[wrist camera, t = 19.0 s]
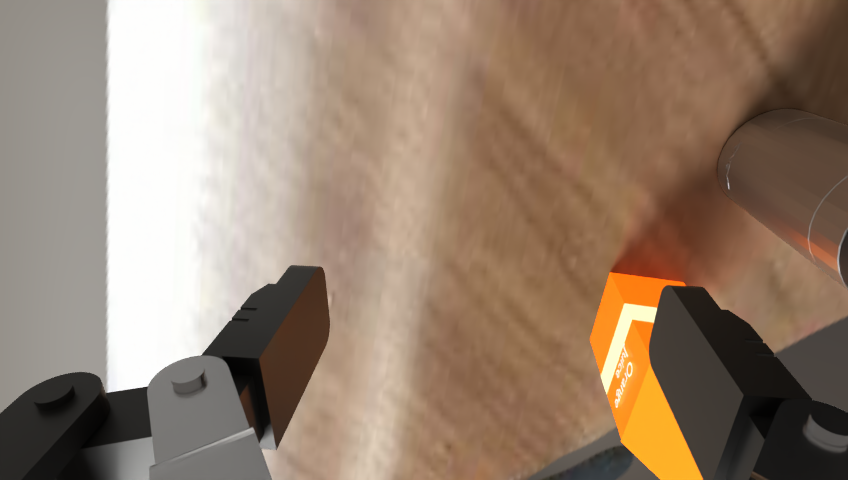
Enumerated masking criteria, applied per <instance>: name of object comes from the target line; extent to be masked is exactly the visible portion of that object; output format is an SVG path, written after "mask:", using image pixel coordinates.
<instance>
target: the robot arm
mask: <svg viewBox="0 0 848 480" xmlns="http://www.w3.org/2000/svg"><path fill="white" fill-rule="evenodd" d="M717 172H718V180H719V183H720V185H721V188H722V190H723V191H724V192H725V194H726V195H727V196H728V197H729V198H730V199H732V200H733V201H734V202H735V203H737V204H738V205H739V206H740V207H742V208H743V209H744V210H746V211H747V212H748V213H749V214H750V215H752V216H753V217H754V218H755V219H757V220H758V221H759V222H761V223H762V224H763V225H764V226H766V227H767V228H768V229H770V230H771V231H772V232H773V233H775V234H776V235H777V236H778V237H780V238H781V239H782V240H784V241H785V242H786V243H787V244H789V245H790V246H791V247H793V248H794V249H795V250H796V251H798V252H799V253H800V254H802V255H803V256H804V257H805V258H807V259H808V260H809V261H811V262H812V263H813V264H814V265H816V266H817V267H818V268H820V269H821V270H822V271H824V272H825V273H826V274H828V275H829V276H830V277H832V278H833V279H834V280H835V281H837V282H838V283H839V284H841V285H842V286H843V287H844V288H846V289H847V290H848V125H845V124H842V123H839V122H836V121H833V120H830V119H827V118H824V117H821V116H818V115H815V114H812V113H809V112H805V111H801V110H797V109H779V110H774V111H769V112H767V113H764V114H761V115H758V116H757V117H755V118H753V119H751V120H749V121H748V122H746V123H745V124H744V125H743V126H741V127H740V128H739V129H737V131H736V132H735V133H734V134H733V135H732V136H731V137H730V138H729V140H728V141H727V143H726V144H725V146H724V148H723V150H722V152H721V155H720V157H719V161H718V168H717ZM329 329H330V318H329V309H328V299H327V290H326V281H325V273H324V270H323V268H322V267H316V266H297V265H291V266H290V267H289V268H288V269H287V270H286V272H285V273H284V274H283V276H282V277H281V278H280V280H279V281H278V282H277V284H267V285H266V286H264V287H262V288H261V289H259V290H258V291H256V292H254V293H253V294H251V295H250V297H249V298H248V299H247V300H246V302H245V303H244V304H243V305H242V306H241V310H238V311H237V312H236V314H235V315H234V316H233V317H232V321H229V322H228V323H227V325H226V326H225V327H224V328H223V330H222V331H221V332H220V333H219V334H218V336H217V337H216V338H215V339H214V341H213V342H212V343H211V344H210V345H209V347H208V348H207V349H206V350H205V352H204V353H203V354H202V355H201V356H194V357H189V358H185V359H182V360H180V361H177V362H175V363H173V364H171V365H169V366H167V367H165V368H164V369H163V370H161V371H160V372H159V373H158V374H157V375H155V377H154V378H153V379H152V380H151V382H150V383H149V386H148V387H143V388H136V389H130V390H123V391H117V392H110V393H106V392H105V390H104V387H103V384H102V382H101V380H100V378H99V377H98V376H96V375H94V374H91V373H85V372H77V373H68V374H64V375H60V376H57V377H54V378H51V379H49V380H46V381H44V382H42V383H39V384H38V385H36V386H34V387H32V388H30V389H29V390H27V391H26V392H25V393H23V394H22V395H21V396H19V397H18V398H17V399H16V400H15V401H14V402H13V403H12V404H11V405H9V406H8V407H7V408H6V409H5V410H4V411H3V412H2V413H1V414H0V480H272V478H271V475H270V473H269V470H268V467H267V464H266V461H265V459H264V456H263V453H262V450H261V449H270V450H277V448H278V446H279V443H280V441H281V439H282V437H283V435H284V433H285V431H286V429H287V427H288V424H289V422H290V420H291V418H292V416H293V414H294V412H295V410H296V408H297V405H298V403H299V401H300V399H301V397H302V395H303V393H304V391H305V389H306V386H307V384H308V382H309V380H310V378H311V376H312V374H313V372H314V370H315V367H316V365H317V363H318V361H319V359H320V357H321V355H322V353H323V351H324V349H325V346H326V344H327V341H328V337H329ZM649 360H650V364H651V368H652V370H653V372H654V374H655V377H656V379H657V381H658V383H659V385H660V387H661V390H662V392H663V394H664V396H665V398H666V400H667V403H668V405H669V407H670V409H671V411H672V413H673V416H674V418H675V420H676V422H677V424H678V426H679V429H680V431H681V433H682V435H683V437H684V439H685V442H686V444H687V446H688V448H689V450H690V452H691V455H692V457H693V459H694V461H695V463H696V465H697V468H698V470H699V472H700V474H701V476H702V478H703V480H848V412H846V411H844V410H841V409H839V408H837V407H835V406H832V405H829V404H827V403H823V402H819V401H815V400H812V398H811V397H810V396H809V395H808V394H807V393H806V391H805V390H804V389H803V388H802V387H801V385H800V384H799V383H798V382H797V381H796V379H795V378H794V377H793V376H792V375H791V373H790V372H789V371H788V370H787V369H786V367H785V366H784V365H783V364H782V363H781V361H780V360H779V359H778V358H777V357H774V353H773V352H772V351H771V349H770V348H769V347H768V346H767V345H766V343H763V340H762V339H761V337H760V336H759V335H758V334H757V333H756V331H755V330H754V329H753V328H752V327H751V325H750V324H748V323H747V322H745V321H744V320H742V319H741V318H739V317H738V316H736V315H735V314H733V313H732V312H730V311H729V310H721V309H720V307H719V306H718V305H717V304H716V302H715V301H714V300H713V299H712V297H711V296H710V295H709V293H708V292H707V291H706V290H705V289H704V288H703V287H695V286H675V285H666V286H665V287H664V288H663V290H662V292H661V295H660V299H659V303H658V307H657V311H656V316H655V320H654V324H653V328H652V332H651V337H650V341H649Z"/></svg>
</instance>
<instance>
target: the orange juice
mask: <svg viewBox="0 0 848 480" xmlns="http://www.w3.org/2000/svg"><path fill="white" fill-rule="evenodd" d="M666 285H675V286H686V285H685V284H684V282H678V281H671V280H663V279H656V278H648V277H641V276H634V275H626V274H619V273H611V272H610V274H609V277H608V280H607V284H606V287H605V290H604V294H603V297H602V300H601V304H600V307H599V310H598V314H597V317H596V320H595V324H594V327H593V330H592V334H591V337H590V342H591V345H592V348H593V351H594V354H595V358H596V361H597V364H598V367H599V370H600V373H601V378H602V382H603V385H604V388H605V391H606V394H607V396H608V399H609V402H610V405H611V408H612V412H613V415H614V418H615V421H616V424H617V427H618V431H619V434H620V437H621V442H622V443H623V444H624V445H625V446H626V447H627V448H628V449H629V450H630V451H631V452H632V453H633V454H634V455H635V456H636V457H637V458H638V459H639V460H641V461H642V462H643V463H644V464H645V465H646V466H647V467H648V468H649V469H650V470H651V471H652V472H653V473H654V474H655V475H656V476H657V477H658V478H660V480H703V478H702V476H701V474H700V472H699V470H698V468H697V465H696V463H695V461H694V459H693V457H692V455H691V452H690V450H689V448H688V446H687V444H686V442H685V439H684V437H683V435H682V433H681V431H680V429H679V426H678V424H677V422H676V420H675V418H674V416H673V413H672V411H671V409H670V407H669V405H668V403H667V400H666V398H665V396H664V394H663V392H662V390H661V387H660V385H659V383H658V381H657V379H656V377H655V374H654V372H653V370H652V368H651V364H650V360H649V341H650V337H651V332H652V328H653V324H654V320H655V316H656V311H657V307H658V303H659V299H660V295H661V292H662V290H663V288H664V287H665V286H666Z"/></svg>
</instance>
